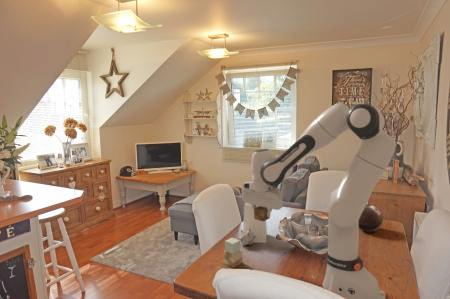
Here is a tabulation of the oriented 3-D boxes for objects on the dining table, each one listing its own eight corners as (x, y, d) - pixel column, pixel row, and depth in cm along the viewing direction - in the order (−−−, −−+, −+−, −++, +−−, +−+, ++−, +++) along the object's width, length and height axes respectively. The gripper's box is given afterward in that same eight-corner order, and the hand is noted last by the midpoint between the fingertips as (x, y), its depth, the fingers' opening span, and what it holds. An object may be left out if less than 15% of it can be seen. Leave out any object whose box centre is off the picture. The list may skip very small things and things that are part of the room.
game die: (249, 253, 166) (254, 243, 159) (234, 246, 167) (238, 236, 160) (254, 239, 172) (259, 229, 165) (239, 232, 173) (243, 222, 166)
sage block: (240, 250, 147) (240, 240, 146) (233, 254, 144) (233, 243, 143) (232, 247, 151) (232, 237, 150) (225, 251, 147) (224, 240, 146)
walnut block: (269, 218, 145) (269, 207, 144) (263, 221, 141) (263, 210, 141) (260, 216, 148) (260, 205, 148) (254, 219, 145) (254, 208, 144)
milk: (243, 241, 171) (242, 194, 167) (245, 233, 182) (244, 188, 178) (265, 243, 169) (265, 195, 165) (266, 234, 180) (266, 189, 176)
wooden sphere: (380, 238, 171) (381, 211, 169) (350, 232, 179) (351, 206, 177) (383, 228, 184) (384, 203, 182) (355, 224, 192) (356, 199, 190)
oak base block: (242, 262, 148) (241, 250, 147) (233, 267, 144) (233, 255, 143) (232, 258, 152) (232, 246, 151) (223, 263, 148) (223, 251, 147)
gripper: (285, 187, 138) (285, 218, 140) (248, 180, 152) (248, 209, 154) (277, 190, 134) (277, 222, 135) (239, 183, 147) (240, 212, 149)
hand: (262, 215), depth 145 cm, fingers closed on walnut block, 5 cm apart
